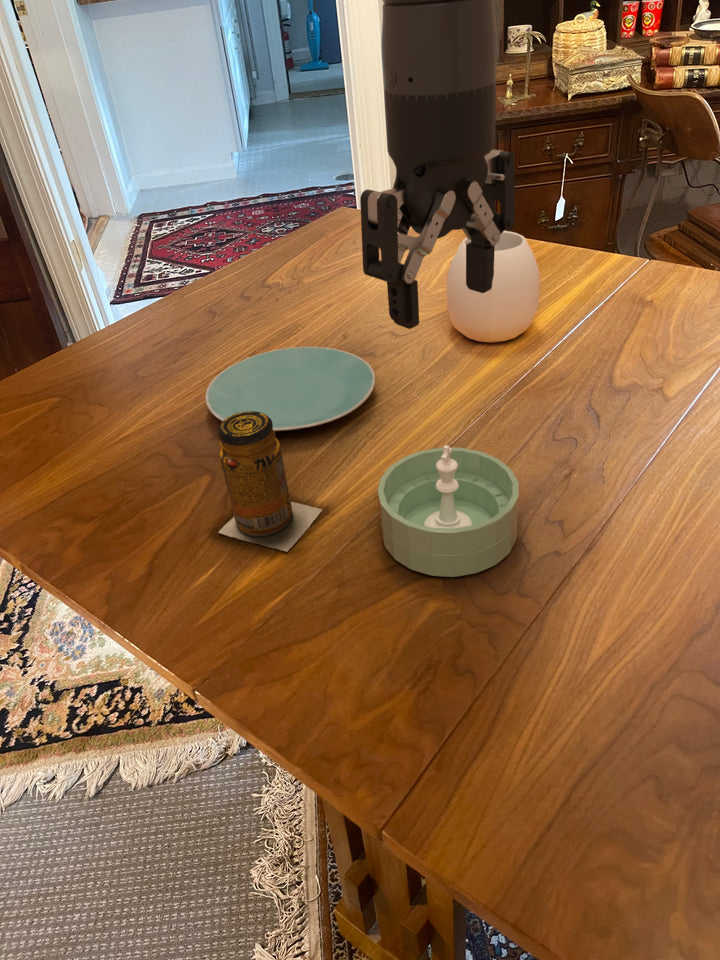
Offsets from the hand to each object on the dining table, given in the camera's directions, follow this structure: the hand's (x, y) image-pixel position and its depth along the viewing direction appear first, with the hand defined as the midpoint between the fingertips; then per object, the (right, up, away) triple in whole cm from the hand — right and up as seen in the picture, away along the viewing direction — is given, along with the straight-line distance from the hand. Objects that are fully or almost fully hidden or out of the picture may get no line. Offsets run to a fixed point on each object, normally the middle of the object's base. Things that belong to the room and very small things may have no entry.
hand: (444, 306), depth 59 cm
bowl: (+2, -19, +14) cm, 24 cm away
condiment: (-16, -18, +18) cm, 31 cm away
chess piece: (+2, -19, +14) cm, 24 cm away
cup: (+13, +8, +50) cm, 52 cm away
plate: (-16, -4, +38) cm, 41 cm away
